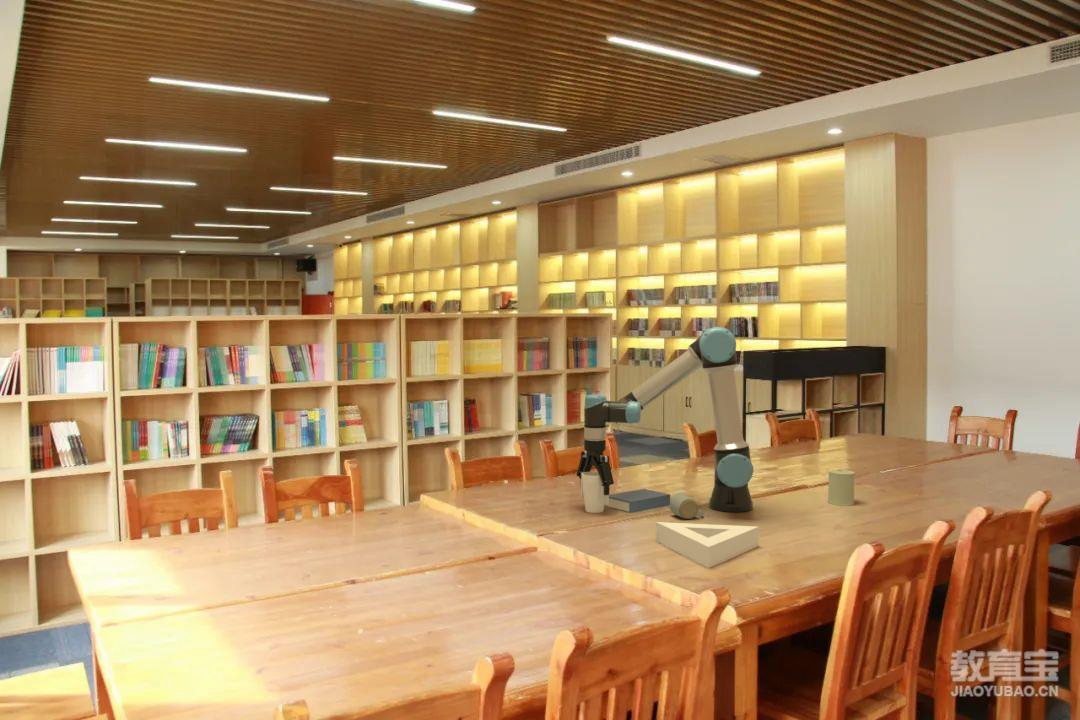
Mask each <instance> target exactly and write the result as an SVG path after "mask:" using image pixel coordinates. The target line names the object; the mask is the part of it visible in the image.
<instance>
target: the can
mask: <svg viewBox="0 0 1080 720" xmlns="http://www.w3.org/2000/svg"><path fill="white" fill-rule="evenodd" d="M827 472H828V491H827V492H828V494H827V495H828V496H827V503H828V504H830V505H835V506H844V507H845V506H849V507H850V506H854V505H855V474H856V473H855V472H854V471H853V470H846V469H830V470H828V471H827Z"/></svg>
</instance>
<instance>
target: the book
mask: <svg viewBox="0 0 1080 720" xmlns="http://www.w3.org/2000/svg"><path fill="white" fill-rule="evenodd" d="M670 500H671V494H669V493H665V492H660V491H655V490H652V489H647V488H642V489H636V490H634V489H633V490H629V491H623V492H617V493H613V494H612V493H611V494H609V504H605V505H604V508H608V509H613V510H616V511H617V510H618V511H621V512H626V513H629V514H631V513H632V514H633V513H636V512H637V513H638V512H642V511H647V510H653V509H654V510H655V509H658V508H663V507H668V506H669V507H670Z"/></svg>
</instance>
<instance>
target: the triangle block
mask: <svg viewBox="0 0 1080 720" xmlns="http://www.w3.org/2000/svg"><path fill="white" fill-rule="evenodd" d="M759 536H760V526H754V525H753V526H749V525H733V524H732V525H729V524H711V523H710V524H708V523H707V524H706V523H688V522H687V523H683V522H663V521H662V522H661V521H655V542H657V543H659V544H661V545H663V546H665V547H666V548H668V549H671V550H672V551H675V552H676V553H678V554H680V555H682V556H685V557H686V558H687V559H690V560H691V561H693V562H695V563H697V564H699V565H701V566H703V567H705V568H707V569H711V568H712V567H715V566H716V565H719V564H722V563H724V562H727V561H729V560H731V559H732V558H736V557H738V556H739V555H742V554H744V553H746V552H748V551H750V550H753V549H755V548H757V547H759V545H760V544H759V542H760V541H759V540H760V538H759Z"/></svg>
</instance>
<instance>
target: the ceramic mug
mask: <svg viewBox="0 0 1080 720" xmlns="http://www.w3.org/2000/svg"><path fill="white" fill-rule="evenodd" d="M669 509H670V511H671V513H673V514H674V515H675V516H678V517H680V518H681V519H683V520H692V519H693V518H694V517H696V516H697V517H700V518H703V517H704V514H705V513H704V511H701V510H699V506H698V504H697V502H696V500H695V499H693V498H691V497H690V496H688V495H687V494H685V493H683V492H678V493H674V495H672V497H670V505H669Z"/></svg>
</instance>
